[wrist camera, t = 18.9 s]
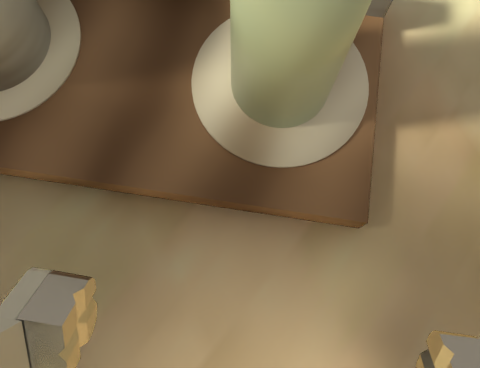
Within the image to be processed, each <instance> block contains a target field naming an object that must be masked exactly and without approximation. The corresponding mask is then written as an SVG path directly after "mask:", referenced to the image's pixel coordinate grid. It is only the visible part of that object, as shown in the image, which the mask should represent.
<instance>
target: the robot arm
mask: <svg viewBox="0 0 480 368" xmlns="http://www.w3.org/2000/svg"><path fill="white" fill-rule="evenodd" d="M95 291H96V282H95V279H94V278H92V277H87V276H82V275H76V274H71V273H65V272H60V271H54V270H53V271H52V270H46V269H41V268H35V267H32V268H30V269H29V270H27V271H26V272H25V274H24V275H23V276H22V277H21V279H20V280H19V281H18V283H17V284H16V285H15V286H14V288H13V289H12V290H11V292H10V293H9V294H8V295H7V297H6V298H5V299H4V301H3V302H2V303H1V304H0V368H76V366H77V364H78V362H79V360H80V358H81V355H80V347H81V346H83V345H84V344H86V343H88V342H89V339H90V337H91V335H92V333H93V330H94V327H95V323H96V319H97V303H96V301H95V300H94V299H93V298H92V297H93V295H94V293H95ZM426 342H427V346H428V350H426V351H424V352H422V353H421V354H420V355H419V358H418V360H417V362H416V368H480V337H478V336H477V337H475V336H470V335H463V334H456V333H450V332H443V331H436V330H434V331H432V332H431V333H430V334H429V336H428V338H427V340H426Z"/></svg>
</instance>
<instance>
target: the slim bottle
mask: <svg viewBox="0 0 480 368" xmlns="http://www.w3.org/2000/svg"><path fill="white" fill-rule="evenodd" d="M371 1H372V0H230V35H231V88H232V93H233V96H234V99H235V100H236V102H237V104H238V106H239V107H240V109H241V110H242V111H243V112H244V113H245V114H246V115H247V116H248V117H250V118H251V119H253V120H254V121H256V122H258V123H260V124H263V125H266V126H269V127H274V128H289V127H295V126H298V125H301V124H303V123H305V122H307V121H309V120H310V119H312V118H313V117H314V116H316V115H317V114H318V113H319V111H320V110H321V109H322V107H323V106H324V104H325V102H326V100H327V98H328V96H329V94H330V91H331V89H332V87H333V85H334V83H335V80H336V78H337V76H338V74H339V72H340V69H341V67H342V65H343V63H344V61H345V58H346V56H347V54H348V52H349V50H350V47H351V45H352V43H353V41H354V39H355V37H356V34H357V32H358V30H359V28H360V26H361V23H362V21H363V19H364V17H365V15H366V12H367V10H368V8H369V6H370V4H371Z"/></svg>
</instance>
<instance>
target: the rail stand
mask: <svg viewBox="0 0 480 368" xmlns="http://www.w3.org/2000/svg"><path fill="white" fill-rule="evenodd" d="M392 1H393V0H372V1H371V4H370V6H369V8H368V10H367V12H366V15H365V17H364V19H363V21H362V23H361V26H360V28H359V30H358V32H357V34H356V37H355V39H354V41H353V43H352V45H351V47H350V50H349V52H348V54H347V56H346V58H345V61H344V63H343V65H342V67H341V69H340V72H339V74H338V76H337V78H336V80H335V83H334V85H333V87H332V89H331V91H330V94H329V96H328V98H327V100H326V102H325V104H324V106H323V107H322V109H321V110H320V111H319V113H318V114H317V115H316V116H314V117H313V118H312V119H310V120H309V121H307V122H305V123H303V124H301V125H298V126H295V127H289V128H274V127H269V126H266V125H263V124H260V123H258V122H256V121H254V120H253V119H251V118H250V117H248V116H247V115H246V114H245V113H244V112H243V111H242V110H241V109H240V107H239V106H238V104H237V102H236V100H235V99H234V96H233V93H232V88H231V35H230V0H0V174H6V175H12V176H19V177H26V178H32V179H39V180H45V181H52V182H59V183H65V184H72V185H78V186H85V187H92V188H98V189H105V190H111V191H118V192H125V193H131V194H138V195H144V196H151V197H158V198H164V199H171V200H177V201H184V202H191V203H197V204H204V205H210V206H217V207H224V208H230V209H237V210H243V211H250V212H257V213H263V214H270V215H276V216H283V217H290V218H296V219H303V220H309V221H316V222H323V223H329V224H336V225H342V226H349V227H356V228H360V227H362V226H363V225H365V224H366V223H368V212H369V199H370V186H371V173H372V160H373V147H374V134H375V121H376V109H377V96H378V83H379V70H380V57H381V44H382V31H383V18H384V16H385V14H386V12H387V10H388V8H389V6H390V4H391V3H392Z"/></svg>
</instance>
